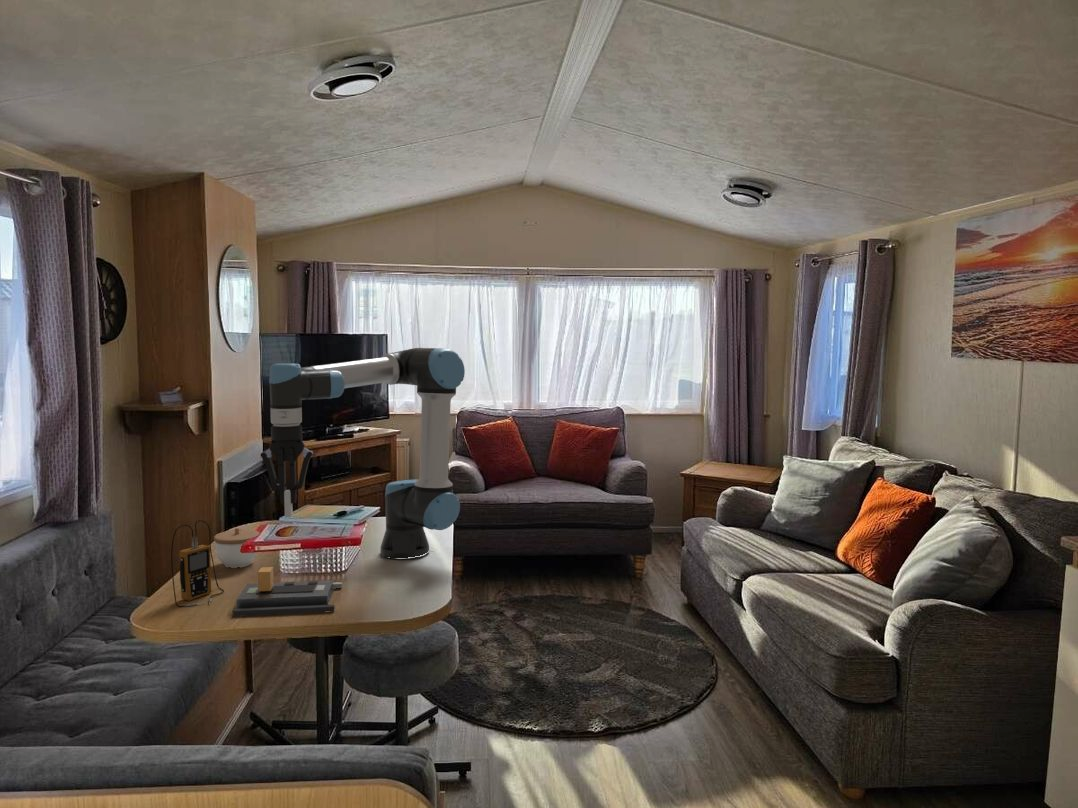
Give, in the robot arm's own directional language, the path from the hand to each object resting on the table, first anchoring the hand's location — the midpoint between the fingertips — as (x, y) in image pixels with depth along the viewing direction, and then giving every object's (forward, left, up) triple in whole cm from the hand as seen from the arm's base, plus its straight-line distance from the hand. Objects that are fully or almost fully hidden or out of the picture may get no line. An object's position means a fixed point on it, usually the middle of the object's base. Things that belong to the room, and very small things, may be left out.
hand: (288, 515), depth 197 cm
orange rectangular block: (+6, 0, -19) cm, 20 cm away
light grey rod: (0, -8, -22) cm, 24 cm away
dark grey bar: (0, +9, -22) cm, 24 cm away
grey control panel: (+1, 0, -22) cm, 22 cm away
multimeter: (+22, -4, -23) cm, 32 cm away
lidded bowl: (+21, -34, -23) cm, 46 cm away
